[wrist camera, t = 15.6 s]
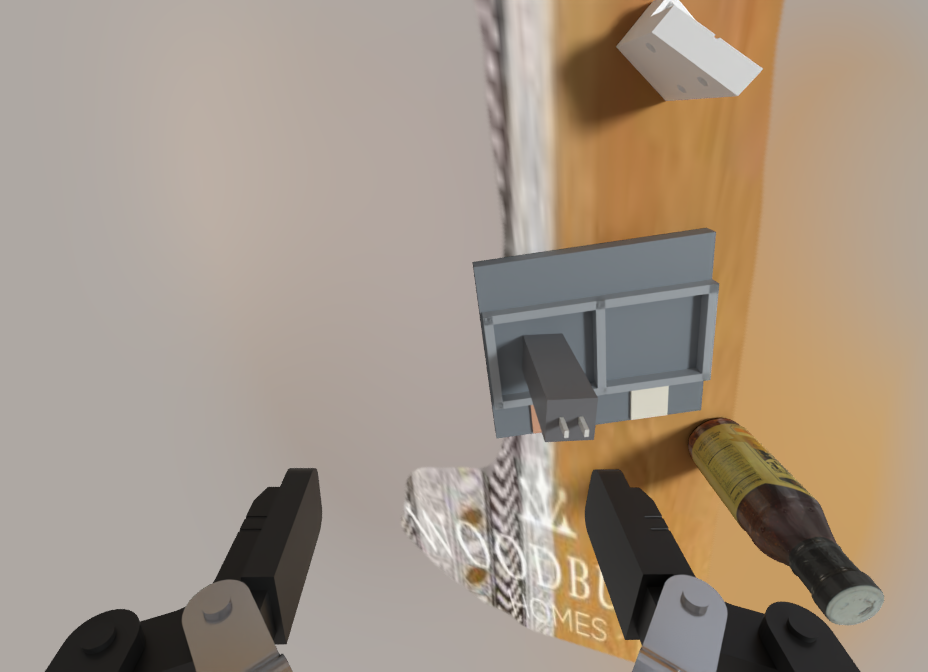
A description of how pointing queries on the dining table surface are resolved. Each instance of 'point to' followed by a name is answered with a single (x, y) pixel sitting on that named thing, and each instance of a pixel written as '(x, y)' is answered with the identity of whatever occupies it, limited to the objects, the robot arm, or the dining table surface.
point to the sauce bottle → (782, 519)
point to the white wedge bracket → (684, 55)
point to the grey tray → (604, 323)
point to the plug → (558, 389)
